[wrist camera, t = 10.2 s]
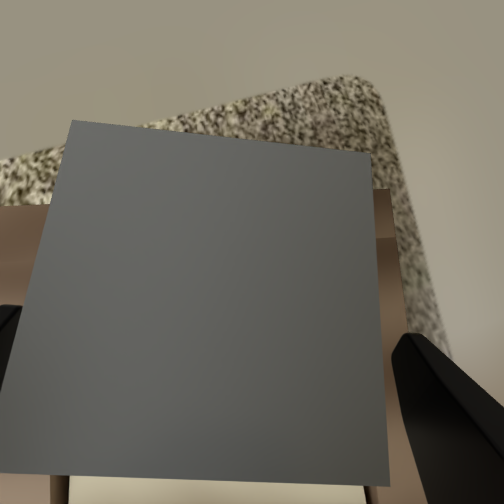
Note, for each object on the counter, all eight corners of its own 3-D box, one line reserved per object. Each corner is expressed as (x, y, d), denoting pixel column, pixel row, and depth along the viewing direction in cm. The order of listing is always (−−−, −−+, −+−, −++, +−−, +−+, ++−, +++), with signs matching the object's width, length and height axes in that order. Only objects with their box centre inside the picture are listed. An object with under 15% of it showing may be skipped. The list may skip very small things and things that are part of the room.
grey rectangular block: (269, 411, 17) (389, 486, 6) (141, 404, 17) (-21, 472, 5) (273, 288, 19) (370, 153, 8) (159, 279, 19) (72, 119, 7)
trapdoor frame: (384, 524, 22) (443, 599, 16) (46, 583, 19) (-18, 695, 14) (348, 213, 24) (389, 188, 19) (41, 230, 21) (-15, 206, 16)
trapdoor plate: (362, 524, 17) (372, 534, 16) (73, 574, 15) (63, 589, 14) (318, 262, 21) (324, 257, 20) (85, 279, 20) (78, 274, 18)
